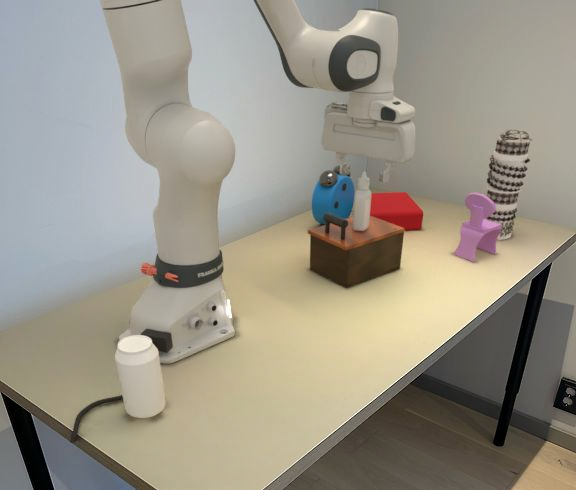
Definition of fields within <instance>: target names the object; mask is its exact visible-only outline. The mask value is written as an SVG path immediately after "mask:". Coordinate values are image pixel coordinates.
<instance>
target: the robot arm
mask: <svg viewBox="0 0 576 490" xmlns="http://www.w3.org/2000/svg"><path fill="white" fill-rule="evenodd" d="M99 2H100V5H101V10H102V12H103V16H104V19H105V23H106V25H107V26H106V27H107V29H108V33H109V36H110V40H111V43H112V47H113V50H114V53H115V58H116V60H117V64H118V68H119V73H120V77H121V84H122V92H123V99H124V106H125V107H124V109H125V115H126V117H125V121H124V131H125V136H126V139H127V141H128V143H129V145H130V146H131V148H132V150H133V151H134V153H136V155H137V156H138V157H139V158H140V160H142V161H143V162H144V163H146V164H148V165H149V166H151V167H153V168H155V169H156V171H157V173H158V178H159V187H158V188H159V189H158V198H157V204H156V206H155V207H154V209H153V211H152V220H153V227H154V235H155V241H156V247H157V248H156V249H157V254H156V257H155V262H154V264H150V263H148V262H144V263H142V264H141V266H140V271H141V273H142V274H143V275H146V276H149V277H152V280H151V282H150V283H149V284H148V286H147V287H146V289H145V290H144V292H142V294H141V295H140V297H138V300H137V301H136V302H135V303H134V305H133V306H132V308H131V309H130V313H129V328H128V329H126V330H125V331H123V332H122V333H121V334H119V336H118V342H119V341H120V340H122V339H123V338H125V337H128V336H132V335H144V336H147V337H149V338H151V340H152V343H153V344H154V345H155V346H156V348H157V349H158V353H159V359H160V364H173V363H176V362H178V361H181V360H183V359H185V358H187V357H190V356H192V355H195V354H197V353H199V352H202V351H203V350H206V349H209V348H210V347H213V346H216V345H217V344H219V343H220V344H221V343H222V342H224V341H226V340H228V339H231V338H233V337H235V336H236V330H235V327H234V316H233V315H232V311H231V304H230V303H231V302H230V299H228V295H227V292H226V288H225V284H224V278H223V273H224V269H225V268H224V264H225V262H224V259H223V252H222V250H221V249H220V236H219V223H218V222H219V219H218V212H219V200H220V194H221V191H222V190H221V189H222V185H223V181H224V180H225V179H226V178H227V177H228V175H229V174H230V172H231V171H232V168H233V166H234V164H235V160H236V144H235V140H234V138H233V136H232V134H231V132H230V130H229V129H228V128H227V127H226V126H225V125H224V124H223V123H222V122H220V120H218V119H217V118H216V117H215V116H214V115H212V114H211V113H210V112H207V111H205V110H202V109H199V108H195V107H194V106H193V104H192V102H191V99H190V94H189V66H190V64H191V62H192V58H193V48H192V44H191V39H190V35H189V30H188V26H187V22H186V17H185V13H184V8H183V4H182V3H183V2H182V0H99ZM253 2H254V4H255V6H256V8H257V10H258V12H259V14H260V15H261V17H262V20H263V22H264V24H265V25H266V27H267V29H268V30H269V31H268V32H270V34H271V37H272V38H273V40H274V42H275V45H276V46H277V49H278V53H279V57H280V61H281V65H282V69H283V71H284V74H285V76H286V78H287V79H288V80H289V81H290V82H291V83H292V85H294V86H296V87H297V88H304V89H305V88H306V89H307V88H308V89H319V90H324V91H330V92H337V93H347V103H346V102H337V101H331V103H329V104H327V105H326V106H325V108H324V113H323V114H324V118H323V119H324V122H323V125H322V126H323V127H322V133H321V146H322V149H323V150H325V151H328V152H329V151H330V152H335V158H336V160H337V163H338V165H339V166H340V174H342V175H348V174H349V173H350V172H351V170H350V169H351V165H349V164H348V163H347V161H346V157H347V154H348V155H354V156H359V157H364V158H370V159H375V160H381V161H382V160H383V161H384V166H385V167H386V168H385V169H384V171H382V172H380V173H379V174H378V175H379V176H378V182H379V183H383V184H386V183H389V181H390V174H391V173H392V171H393V170H394V169H395V167H396V165H397V163H400V164H406V163H408V162H410V161H411V160H412V159H413V157H414V156H415V151H416V136H417V132H416V130H417V129H416V125H415V123H414V122H413V119H414V118H415V116H416V108H415V107H414V106H413V105H410V104H409V103H407V102H405V101H404V100H401V99H399V98H398V97H396V96H395V95H394V94H395V86H394V74H395V71H396V68H397V64H398V63H397V62H398V51H399V24H398V19H397V17H396V16H395V15H394V14H393V13H392V12H389V11H387V10H383V9H376V8H368V7H367V8H366V7H365V8H361V9H358V10H357V11H356V15H355V16H354V17H353V18H352V19H351V20H350V21H349V22H347V24H346V25H344V26H342V27H341V28H338V29H337V30H325V29H318V28H315V27H313V26H312V25H310V24H308V23H307V22H306V21H305V20H304V18H303V16H302V13H301V12H300V9H299V8H298V5H297V3H296V1H295V0H253ZM119 401H123V396H122V394H121V395H117V396H111V397H107V398H102V399H99V400H95V401H94V402H91V403H90V404H88V405H87V406H85V407H83V408H82V409H81V410H80V411H79V412H78V414H77V415H76V417H75V419H74V424H73V428H72V433H71V438H70V443H71V444H74V443H76V442H77V438H78V434H79V428H80V426H81V425H80V424H81V422H82V419H83V417H84V416H85V415H86V414H87V413H88V412H90V411H91V410H92V409H94V408H96V407H99V406H101V405H105V404H109V403H114V402H119Z"/></svg>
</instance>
